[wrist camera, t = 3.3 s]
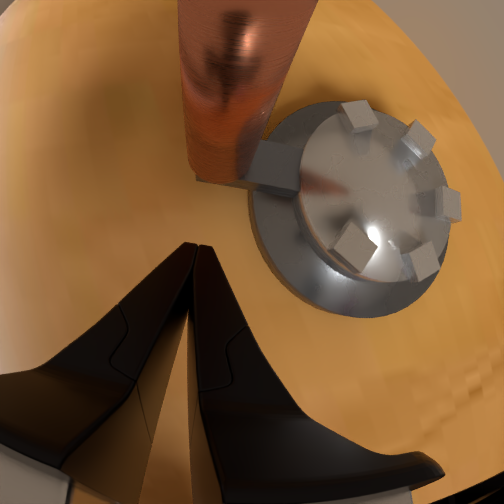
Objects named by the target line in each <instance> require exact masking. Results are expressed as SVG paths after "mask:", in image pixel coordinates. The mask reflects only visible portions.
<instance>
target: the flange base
mask: <svg viewBox="0 0 504 504" xmlns="http://www.w3.org/2000/svg"><path fill="white" fill-rule="evenodd" d="M341 103H347V102H343V101H330V102H321V103H317V104H313V105H309V106H307V107H304V108H302V109H300V110H298V111H296V112H294V113H293V114H291V115H290V116H288V117H287V118H286V119H284V120H283V121H282V122H281V123H280V124H279V125H278V126H277V127H276V128H275V129H274V131H273V132H272V133H271V134H270V136H269V137H268V139H267V141H270V142H275V143H280V144H284V145H289V146H293V147H298V148H303V147H304V145H305V144H306V143H307V141H308V140H309V138H310V137H311V135H312V134H313V133H314V131H315V130H316V129H317V127H318V126H319V125H320V124H321V123H323V122H324V121H325V120H326V119H328V118H329V117H331V116H332V115H335V114H337V112H336V109H337V108H338V107H339V105H340V104H341ZM371 109H372V108H371ZM372 110H374V109H372ZM374 111H377V110H374ZM378 112H379V111H378ZM248 205H249V217H250V223H251V228H252V232H253V235H254V238H255V241H256V244H257V246H258V249H259V251H260V253H261V255H262V257H263V259H264V261H265V262H266V264H267V265H268V267H269V268H270V270H271V271H272V273H273V274H274V275H275V276H276V278H277V279H278V280H279V281H280V282H281V284H283V285H284V286H285V287H286V288H287V289H288V290H289V291H290V292H291V293H292V294H294V295H295V296H296V297H298V298H299V299H301V300H302V301H304V302H305V303H307V304H309V305H311V306H313V307H315V308H317V309H320V310H323V311H325V312H328V313H332V314H338V315H343V316H350V317H357V318H375V317H381V316H386V315H389V314H392V313H396V312H398V311H400V310H402V309H404V308H406V307H408V306H409V305H410V304H412V303H413V302H415V301H416V300H417V299H418V298H419V297H420V296H421V295H422V294H423V293H424V292H425V291H426V290H427V289H428V288H429V286H430V285H431V284H432V282H433V281H434V279H435V278H436V276H437V274H438V272H439V270H440V269H439V270H438V271H436V272H434V273H433V274H431V275H430V276H428V277H426V278H425V279H423V280H421V281H420V282H412V283H410V281H409V280H405V281H398V282H387V283H364V282H360V281H355V280H353V279H350V278H347V277H345V276H343V275H341V274H339V273H338V272H336V271H334V270H333V269H332V268H330V267H329V266H328V265H326V264H325V263H324V262H323V261H322V260H321V259H320V258H319V257H318V256H317V255H316V253H315V252H314V251H313V250H312V249H311V247H310V246H309V244H308V243H307V241H306V240H305V238H304V236H303V234H302V232H301V230H300V228H299V226H298V224H297V221H296V218H295V215H294V211H293V206H292V201H291V198H289V197H284V196H279V195H274V194H269V193H264V192H258V191H253V190H249V197H248ZM448 238H449V236H448ZM447 245H448V239H447V242H446V245H445V247H444V249H443V251H442V253H441V255H440V256H439V258H438V262H439V265H440V268H441V265H442V263H443V260H444V257H445V253H446V250H447Z"/></svg>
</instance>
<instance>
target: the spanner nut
mask: <svg viewBox="0 0 504 504" xmlns="http://www.w3.org/2000/svg"><path fill="white" fill-rule="evenodd" d="M317 2H318V0H178V27H179V49H180V66H181V82H182V96H183V109H184V121H185V132H186V143H187V153H188V161H189V164H190V166H191V168H192V170H193V171H194V172H195V173H196V181H200V182H206V183H213V184H219V185H225V186H230V187H236V188H242V189H247V190H253V191H258V192H264V193H269V194H274V195H279V196H284V197H289V198H291V201H292V206H293V211H294V215H295V218H296V221H297V224H298V226H299V228H300V230H301V232H302V234H303V236H304V238H305V240H306V241H307V243H308V244H309V246H310V247H311V249H312V250H313V251H314V252H315V253H316V255H317V256H318V257H319V258H320V259H321V260H322V261H323V262H324V263H325V264H326V265H328V266H329V267H330V268H332V269H333V270H334V271H336V272H338V273H339V274H341V275H343V276H345V277H347V278H350V279H353V280H355V281H360V282H364V283H387V282H398V281H405V280H409V281H410V283H412V282H420V281H421V280H423V279H425V278H426V277H428V276H430V275H431V274H433V273H434V272H436V271H438V270H439V269H441V268H440V265H439V262H438V258H439V256H440V255H441V253H442V251H443V249H444V247H445V245H446V242H447V239H448V236H449V232H450V226H451V223H456V222H460V221H461V199H460V192H457V191H455V190H453V189H450V188H448V185H447V181H446V178H445V176H444V173H443V170H442V168H441V166H440V164H439V162H438V160H437V159H436V157H435V155H434V154H433V152H432V151H431V149H432V147H433V145H434V143H435V141H436V139H435V138H434V137H433V136H432V135H431V134H430V133H429V132H428V131H427V130H426V129H425V128H424V127H423V126H422V125H421V124H420V123H419V122H418V121H417V120H416V119H415V120H414V121H413V122H412V123H411V124H409V126H407V125H405V124H404V123H403V122H401V121H399V120H397V119H396V118H394V117H392V116H389V115H387V114H385V113H381V112H378V111H374V110H372V109H371V107H370V106H369V104H368V102H367V100H359V101H353V102H347V103H341V104H340V105H339V107H338V108H337V109H336V112H337V114H335V115H332V116H331V117H329V118H328V119H326V120H325V121H324V122H323V123H321V124H320V125H319V126H318V127H317V129H316V130H315V131H314V133H313V134H312V135H311V137H310V138H309V140H308V141H307V143H306V144H305V145H304V147H303V148H298V147H293V146H289V145H284V144H280V143H275V142H270V141H266V140H261V138H262V135H263V133H264V130H265V127H266V125H267V122H268V120H269V117H270V115H271V112H272V110H273V107H274V105H275V102H276V100H277V97H278V95H279V92H280V90H281V87H282V85H283V82H284V80H285V78H286V75H287V73H288V70H289V68H290V65H291V63H292V61H293V58H294V56H295V53H296V51H297V49H298V46H299V44H300V42H301V39H302V37H303V35H304V32H305V30H306V28H307V25H308V23H309V21H310V18H311V16H312V14H313V11H314V9H315V7H316V5H317Z"/></svg>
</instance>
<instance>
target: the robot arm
mask: <svg viewBox="0 0 504 504" xmlns="http://www.w3.org/2000/svg"><path fill="white" fill-rule="evenodd" d="M188 309H189V310H188ZM187 315H188V330H187V384H188V425H189V448H190V467H191V482H192V495H193V504H413V501H412V495H411V491H413V490H415V489H418V488H420V487H423V486H425V485H427V484H430V483H432V482H434V481H437V480H439V479H441V478H442V477H444V476H445V472H444V471H443V469H442V467H441V466H440V465H439V464H438V463H437V462H436V461H435V460H433V459H432V458H431V457H429V456H427V455H426V454H424V453H423V452H419V451H415V452H409V453H404V454H399V455H385V454H380V453H376V452H373V451H370V450H368V449H366V448H364V447H362V446H360V445H358V444H356V443H354V442H352V441H350V440H348V439H347V438H345V437H343V436H341V435H339V434H337V433H335V432H334V431H332V430H330V429H328V428H327V427H325V426H323V425H321V424H319V423H318V422H316V421H314V420H313V419H311V418H310V417H309V416H308V415H307V414H305V413H304V412H303V411H302V410H301V408H300V407H299V406H298V405H297V403H296V402H295V401H294V399H293V398H292V396H291V395H290V394H289V392H288V391H287V389H286V388H285V386H284V385H283V383H282V382H281V380H280V379H279V377H278V376H277V375H276V373H275V372H274V370H273V369H272V367H271V366H270V364H269V362H268V361H267V359H266V358H265V356H264V354H263V353H262V351H261V349H260V347H259V345H258V344H257V342H256V340H255V338H254V336H253V334H252V332H251V329H250V327H249V326H248V323H247V321H246V319H245V317H244V315H243V313H242V310H241V308H240V306H239V304H238V302H237V300H236V297H235V295H234V293H233V291H232V289H231V287H230V284H229V282H228V280H227V278H226V276H225V273H224V271H223V269H222V267H221V264H220V262H219V260H218V258H217V255H216V253H215V251H214V249H213V247H212V246H207V245H199V246H198V245H197V244H195V243H189V242H184V243H183V244H182V245H180V246H179V247H178V248H177V249H176V250H175V251H174V252H173V253H172V254H170V255H169V256H168V257H167V258H166V259H165V260H164V261H163V262H162V263H160V264H159V265H158V266H157V267H156V268H155V269H154V270H153V271H152V272H151V273H150V274H148V275H147V276H146V277H145V278H144V279H143V280H142V281H141V282H140V283H139V284H138V285H137V286H136V287H134V288H133V289H132V290H131V291H130V292H129V293H128V294H127V295H126V296H125V297H124V298H123V299H122V300H121V301H120V302H119V303H118V304H117V305H115V306H114V307H113V308H112V309H111V310H110V311H109V312H108V313H107V314H106V315H105V316H104V317H103V318H101V319H100V320H99V321H98V322H97V323H96V324H95V325H93V326H92V327H91V328H90V329H88V330H87V331H86V332H85V333H84V334H82V335H81V336H80V337H78V338H77V339H76V340H75V341H73V342H72V343H71V344H69V345H68V346H67V347H65V348H64V349H63V350H62V351H60V352H59V353H58V354H57V355H55V356H54V357H53V358H51V359H50V360H49V361H47V362H46V363H44V364H42V365H41V366H39V367H36V368H34V369H31V370H27V371H21V372H14V373H8V374H1V375H0V504H138V501H139V497H140V492H141V488H142V484H143V479H144V475H145V471H146V467H147V462H148V458H149V454H150V450H151V446H152V445H151V444H152V442H153V438H154V434H155V430H156V426H157V422H158V418H159V415H160V411H161V407H162V403H163V400H164V396H165V392H166V388H167V385H168V381H169V378H170V374H171V370H172V367H173V363H174V360H175V356H176V353H177V349H178V346H179V343H180V339H181V336H182V332H183V329H184V326H185V322H186V319H187ZM429 504H504V471H502V472H500V473H498V474H496V475H495V476H493V477H491V478H489V479H486V480H484V481H482V482H480V483H478V484H476V485H474V486H471V487H469V488H467V489H465V490H462V491H460V492H458V493H455V494H453V495H450V496H448V497H445V498H443V499H440V500H437V501H435V502H432V503H429Z"/></svg>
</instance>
